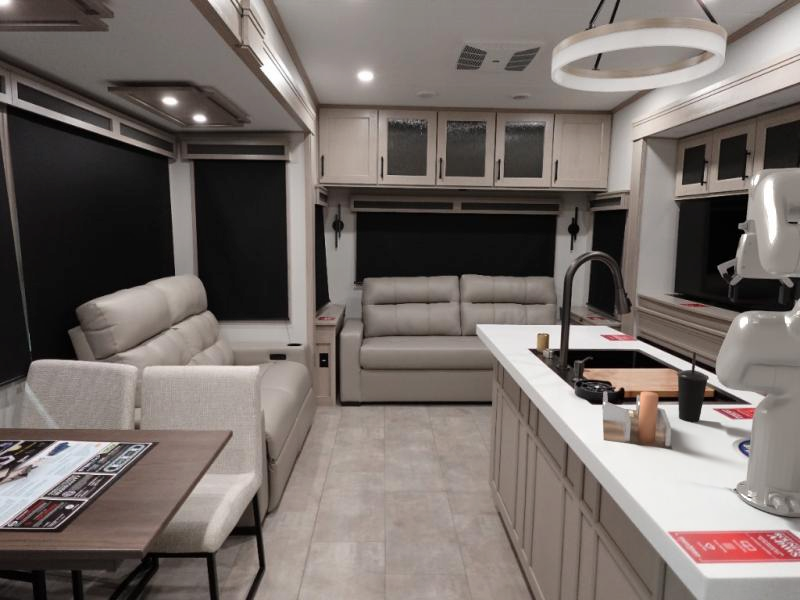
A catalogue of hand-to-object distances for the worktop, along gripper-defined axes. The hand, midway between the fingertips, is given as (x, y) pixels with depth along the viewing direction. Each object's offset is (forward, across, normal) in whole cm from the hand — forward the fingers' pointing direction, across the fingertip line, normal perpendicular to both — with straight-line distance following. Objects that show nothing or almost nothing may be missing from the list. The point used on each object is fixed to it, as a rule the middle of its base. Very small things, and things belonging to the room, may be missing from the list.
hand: (757, 302), depth 120 cm
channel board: (+37, -24, +6) cm, 44 cm away
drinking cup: (+37, -9, +17) cm, 42 cm away
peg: (+36, -22, -3) cm, 42 cm away
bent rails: (+37, -24, +6) cm, 44 cm away
